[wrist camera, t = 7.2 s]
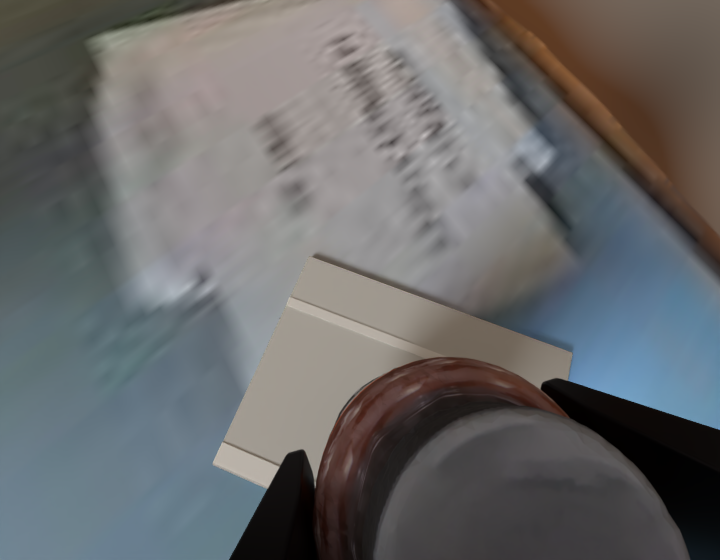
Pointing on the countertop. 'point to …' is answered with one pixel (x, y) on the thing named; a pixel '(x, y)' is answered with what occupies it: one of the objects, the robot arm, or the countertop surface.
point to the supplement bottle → (478, 476)
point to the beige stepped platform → (354, 362)
